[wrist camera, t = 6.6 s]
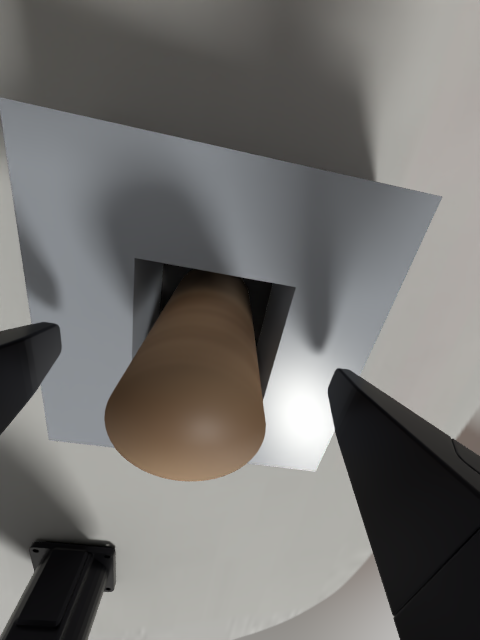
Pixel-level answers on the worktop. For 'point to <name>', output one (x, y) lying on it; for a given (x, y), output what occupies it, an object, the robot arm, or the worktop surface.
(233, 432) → the peg
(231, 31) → the worktop surface
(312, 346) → the socket
